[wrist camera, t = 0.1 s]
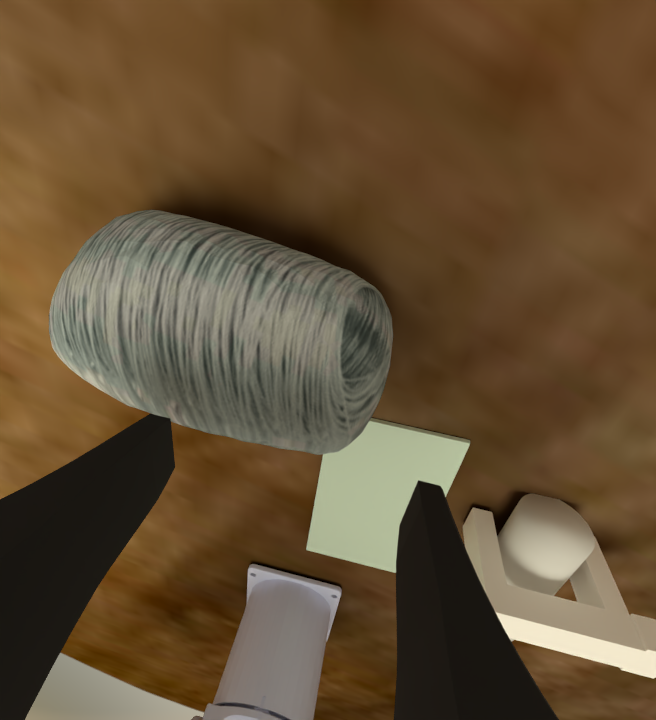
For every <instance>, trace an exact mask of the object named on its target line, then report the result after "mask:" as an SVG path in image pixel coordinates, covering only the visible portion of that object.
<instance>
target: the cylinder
mask: <svg viewBox="0 0 656 720" xmlns="http://www.w3.org/2000/svg"><path fill="white" fill-rule="evenodd" d="M497 538H498V543H499V548H500V553H501V558H502V563H503V567H504V572H505V577H506V582H507V584H508V585H512V586H516V587H519V588H523V589H527V590H531V591H535V592H539V593H543V594H547V595H551V596H554V595H555V594H556V592H557V591H558V590H559V589H560V588H561V587H562V586H563V584H564V583H565V582H566V581H567V580H568V579H569V578H570V577H571V575H572V574H573V573H574V572H575V571H576V570H577V569H578V568H579V566H580V565H581V564H582V563H583V562H584V561H585V560H586V558H587V557H588V556H589V555H590V554H591V553H592V551H593V549H594V546H595V540H594V536H593V533H592V531H591V529H590V527H589V525H588V524H587V522H586V521H585V520H584V519H583V518H582V516H581V515H580V514H579V513H578V512H576V511H575V510H574V509H573V508H572V507H570V506H569V505H567V504H566V503H564V502H563V501H561V500H559V499H554V498H550V497H546V496H542V495H537V494H533V493H531V494H527V495H525V496H523V497H522V498H521V499H520V501H519V502H518V504H517V506H516V507H515V509H514V510H513V512H512V514H511V515H510V517H509V518H508V520H507V522H506V523H505V525H504V526H503V528H502V530H501V531H500V533H499V534H498V536H497ZM509 639H510V640H511V641H513V640H515V639H511V638H509Z"/></svg>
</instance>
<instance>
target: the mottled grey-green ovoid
mask: <svg viewBox="0 0 656 720" xmlns="http://www.w3.org/2000/svg"><path fill="white" fill-rule="evenodd" d="M49 333H50V338H51V343H52V347H53V349H54V351H55V352H56V354H57V355H58V356H59V358H60V359H61V360H62V361H63V362H64V363H65V364H66V365H67V366H68V367H69V368H70V369H71V370H72V371H74V372H75V373H76V374H78V375H79V376H80V377H81V378H83V379H84V380H86V381H87V382H89V383H90V384H92V385H93V386H95V387H96V388H98V389H100V390H101V391H103V392H105V393H107V394H108V395H110V396H112V397H114V398H115V399H117V400H119V401H121V402H123V403H124V404H126V405H128V406H131V407H134V408H138V409H141V410H143V411H146V412H149V413H152V414H154V415H158V416H162V417H166V418H170V419H171V421H172V422H174V423H177V424H180V425H183V426H186V427H190V428H194V429H197V430H200V431H204V432H207V433H211V434H216V435H222V436H227V437H231V438H235V439H238V440H241V441H244V442H251V443H258V444H263V445H268V446H272V447H276V448H280V449H288V450H297V451H304V452H308V453H312V454H318V455H320V454H327V453H334V452H339V451H340V450H342V449H343V448H345V447H347V446H348V445H349V444H350V443H352V442H353V441H354V440H355V439H356V438H357V437H358V436H359V435H360V434H361V433H362V432H363V430H364V429H365V427H366V425H367V424H368V422H369V421H370V419H371V417H372V415H373V413H374V411H375V409H376V407H377V405H378V403H379V400H380V398H381V395H382V393H383V390H384V387H385V383H386V379H387V375H388V372H389V368H390V360H391V350H392V342H393V329H392V317H391V314H390V311H389V308H388V307H387V304H386V302H385V300H384V298H383V296H382V294H381V293H380V292H379V291H378V290H377V289H376V288H375V287H374V286H373V285H371V284H370V283H368V282H367V281H365V280H363V279H362V278H360V277H359V276H357V275H356V274H354V273H353V272H352V271H350V270H346V269H343V268H340V267H337V266H334V265H332V264H330V263H328V262H326V261H324V260H322V259H319V258H316V257H314V256H311V255H309V254H306V253H303V252H300V251H297V250H294V249H290V248H288V247H285V246H283V245H280V244H277V243H275V242H272V241H269V240H266V239H263V238H260V237H257V236H254V235H250V234H247V233H244V232H241V231H238V230H235V229H232V228H229V227H226V226H222V225H219V224H215V223H211V222H207V221H203V220H199V219H196V218H192V217H188V216H184V215H177V214H173V213H169V212H164V211H160V210H145V211H137V212H134V213H130V214H127V215H123V216H120V217H116V218H115V219H113V220H112V221H111V222H109V223H108V224H107V225H105V226H104V227H103V228H101V229H100V230H99V231H98V232H96V233H95V234H94V235H93V236H92V237H91V238H90V239H88V240H87V241H86V242H85V244H84V245H83V246H82V248H81V249H80V251H79V252H78V254H77V255H76V257H75V258H74V259H73V261H72V262H71V263H70V265H69V266H68V267H67V269H66V270H65V271H64V273H63V274H62V277H61V279H60V281H59V283H58V285H57V288H56V290H55V293H54V295H53V298H52V302H51V307H50V313H49Z"/></svg>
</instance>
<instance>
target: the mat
mask: <svg viewBox="0 0 656 720" xmlns="http://www.w3.org/2000/svg"><path fill="white" fill-rule="evenodd" d="M469 445H470V440H468V439H463V438H459V437H454V436H450V435H445V434H441V433H437V432H432V431H428V430H423V429H419V428H414V427H410V426H405V425H401V424H397V423H392V422H388V421H383V420H379V419H374V418H371V419H370V421H369V422H368V424H367V425H366V427H365V429H364V430H363V432H362V433H361V434H360V435H359V436H358V437H357V438H356V439H355V440H354V441H353V442H352V443H350V444H349V445H348V446H347V447H345V448H343V449H342V450H340V451H339V452H334V453H327V454H323V458H322V464H321V469H320V475H319V480H318V486H317V492H316V497H315V503H314V508H313V514H312V520H311V525H310V531H309V536H308V542H307V548H306V550H309V551H312V552H316V553H320V554H324V555H328V556H332V557H336V558H340V559H343V560H347V561H351V562H355V563H359V564H363V565H367V566H371V567H374V568H378V569H382V570H386V571H390V572H394V573H396V557H397V545H398V535H399V525H400V523H401V520H402V518H403V516H404V513H405V511H406V508H407V506H408V504H409V501H410V499H411V496H412V494H413V491H414V489H415V487H416V484H417V482H418V480H419V481H423V482H427V483H431V484H435V485H439V486H441V488H442V489H443V491H444V494H445V497H446V495H447V493H448V491H449V489H450V486H451V484H452V482H453V480H454V478H455V476H456V473H457V471H458V469H459V467H460V465H461V463H462V460H463V458H464V456H465V454H466V452H467V450H468V447H469Z"/></svg>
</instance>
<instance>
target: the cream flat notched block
mask: <svg viewBox="0 0 656 720" xmlns="http://www.w3.org/2000/svg"><path fill="white" fill-rule="evenodd" d="M463 534H464V542H465V549H466V551H467V553H468V555H469V558H470V560H471V562H472V564H473V567H474V569H475V571H476V573H477V576H478V578H479V580H480V582H481V584H482V586H483V588H484V590H485V592H486V594H487V596H488V598H489V600H490V602H491V604H492V606H493V608H494V610H495V612H496V614H497V616H498V618H499V620H500V622H501V624H502V626H503V628H504V629H505V631H506V633H507V635H508V637H509V638H511V639H515V640H518V641H522V642H526V643H530V644H534V645H537V646H541V647H545V648H549V649H552V650H556V651H560V652H564V653H567V654H571V655H575V656H579V657H582V658H586V659H590V660H594V661H598V662H601V663H605V664H609V665H613V666H616V667H620V669H621V670H623V671H627V672H631V673H635V674H638V675H642V676H646V677H650V678H653V679H654V678H655V677H656V620H655V619H651V618H647V617H643V616H639V615H635V614H631V615H629V613H628V610H627V608H626V606H625V604H624V601H623V599H622V597H621V595H620V592H619V590H618V588H617V585H616V583H615V581H614V579H613V576H612V574H611V572H610V570H609V567H608V565H607V563H606V560H605V558H604V556H603V554H602V551H601V549H600V547H599V545H598V542H597V540H596V538H595V537H594V540H595V546H594V549H593V551H592V553H591V554H590V555H589V556H588V557H587V558H586V560H585V561H584V562H583V563H582V564H581V565H580V566H579V568H578V569H577V570H576V571H575V572H574V573H573V574H572V575H571V577H570V581H571V584H572V587H573V590H574V593H575V596H576V599H577V601H578V602H575V601H571V600H567V599H563V598H559V597H555V596H551V595H547V594H543V593H539V592H535V591H531V590H527V589H523V588H519V587H516V586H512V585H508V584H507V582H506V577H505V572H504V567H503V563H502V558H501V553H500V548H499V543H498V538H497V533H496V528H495V523H494V519H493V514H492V512H490V511H486V510H482V509H477V508H472V510H471V512H470V514H469V515H468V517H467V519H466V521H465V523H464V525H463Z"/></svg>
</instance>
